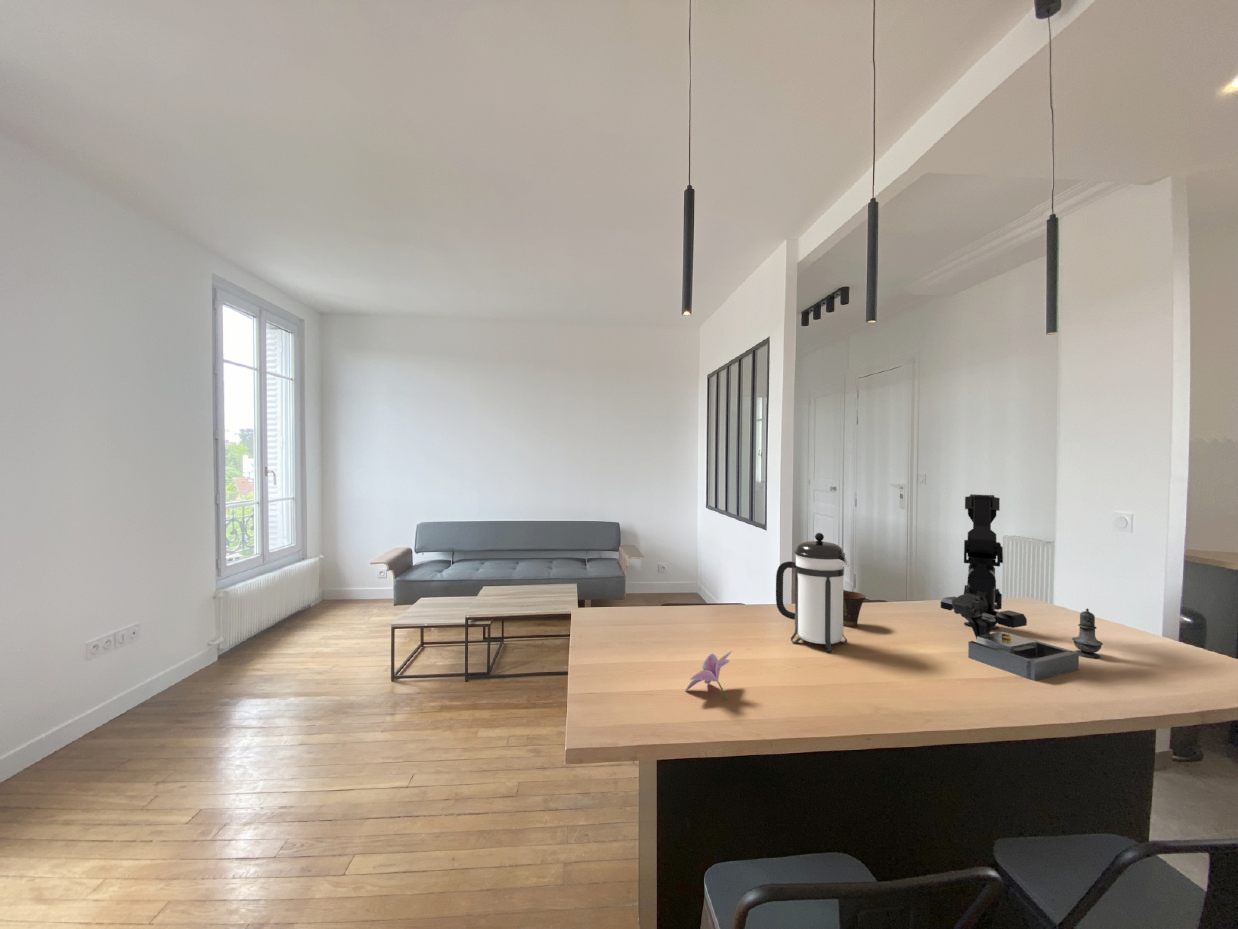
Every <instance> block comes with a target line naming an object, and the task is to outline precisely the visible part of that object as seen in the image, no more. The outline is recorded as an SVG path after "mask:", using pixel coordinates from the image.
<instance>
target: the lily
mask: <svg viewBox="0 0 1238 929" xmlns="http://www.w3.org/2000/svg"><path fill="white" fill-rule="evenodd" d="M732 653H733V651H730V652H727V653H726V654H724V655H723V656H721V657H720V658H718V657H717V656H716V655H715V653H710V654H709V655H708V656H707V657H706V659H705V661H704V662H703V664H702V668H701V669H702V670H701V671H699V672H697V673H696V674H695V675H692V677H691V678H690V680H691V681H690V682H689V684H688V685H687V687H686V688H685V692H687V691H689V690H690V689H691V688H693V686H695V685H697V684H698V683H700V682H702V681H703V683H705V685H710V684H711V682H716V683H717V684H718V685H719V688H720V689H721V692H722V694H723V696H724V698H725V701H728V698H727V696H726V693H725V691H724V689H723V687H722V685H721V683H720V682H719V679H720V678H719V676H720V671H721V669H722V667H724V666H725V665H727V664H729V663H730V662H731V661H730V659H728V657H729V656H730V654H732Z"/></svg>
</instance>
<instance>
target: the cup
mask: <svg viewBox="0 0 1238 929" xmlns="http://www.w3.org/2000/svg"><path fill="white" fill-rule="evenodd" d="M865 598H866V595H865V594H863V593H860V592H857V591H850V590H843V627H847V628H855V627H857V626H858V621H859V615H860V614H861V613H860V612H861V608H862V605H863V603H864V601H865Z"/></svg>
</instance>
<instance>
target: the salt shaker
mask: <svg viewBox="0 0 1238 929" xmlns="http://www.w3.org/2000/svg"><path fill="white" fill-rule="evenodd" d="M1095 618H1096V615H1095V614H1094V613H1092V612H1090V609H1089V608H1086V609H1085V611H1081V612H1080V613H1079V623H1078V624H1077V626H1078V627H1079V629H1078V630H1079V632H1078V633H1079V634H1078V635H1077V636H1075V637H1072V638H1071V640H1072V641H1073V644H1074V646H1075V648H1077V650H1073V651H1074V652H1078V653H1079V657H1082V658H1087V659H1092V660H1093V659H1094V660H1100V659H1102V656H1101V655H1099V654H1098V653H1097V652H1099V651H1100V650H1101V649H1102V646H1103V645H1104V643H1103V642H1102V641H1099V640H1098V639H1097V637H1096V629H1097V627H1096V624H1095V623H1096V622H1095V621H1096V620H1095Z"/></svg>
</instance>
